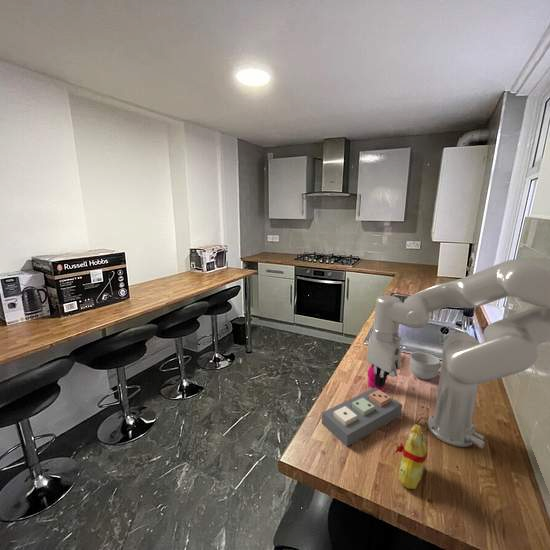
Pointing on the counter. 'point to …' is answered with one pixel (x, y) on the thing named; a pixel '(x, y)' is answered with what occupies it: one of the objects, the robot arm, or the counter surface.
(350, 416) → the tile one
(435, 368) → the teacup
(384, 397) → the tile three
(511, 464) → the counter surface
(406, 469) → the chocolate bunny
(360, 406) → the tile two
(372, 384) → the pink bowling pin
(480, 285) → the robot arm
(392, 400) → the console
